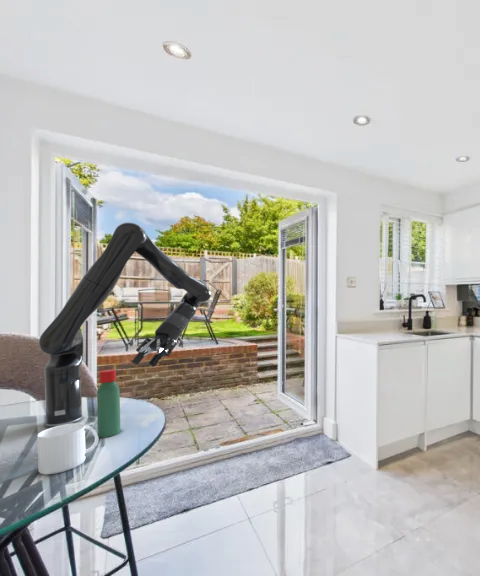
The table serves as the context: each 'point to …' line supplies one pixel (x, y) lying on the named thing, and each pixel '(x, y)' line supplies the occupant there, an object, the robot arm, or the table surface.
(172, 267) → the robot arm
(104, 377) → the cap
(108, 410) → the bottle
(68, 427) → the mug
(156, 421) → the table surface
